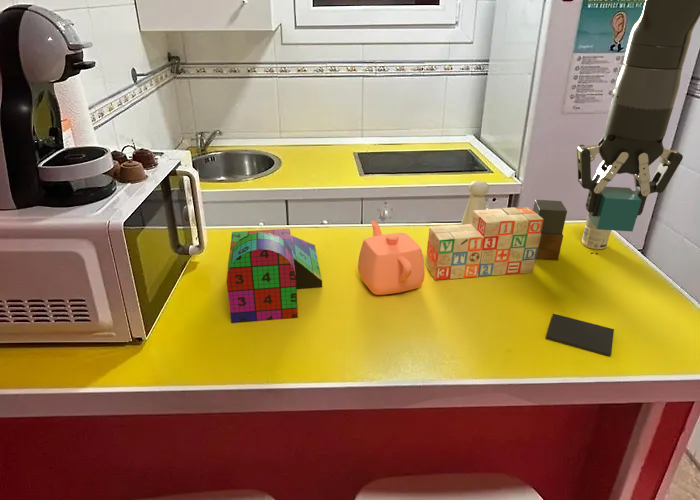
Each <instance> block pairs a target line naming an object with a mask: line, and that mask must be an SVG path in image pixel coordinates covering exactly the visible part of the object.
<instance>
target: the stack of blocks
mask: <svg viewBox="0 0 700 500" xmlns="http://www.w3.org/2000/svg"><path fill="white" fill-rule="evenodd" d="M542 225H543V218H542V217H540V216H539V215H538V214H537V213H535V212H534V211H533V209H532V208H531V207H528V206H526V207H501V208H489V209H485V210H474V211H473V215H472V222H471V224H466V225H461V224H450V225H449V224H448V225H437V226H429V229H428V236H427V237H428V238H427V245H426V260H425V267H426V268H427V270H428V272H429V273H430V274H431V276H432V278H433V279H434V280H435V281H439V280H454V279H455V280H456V279H463V278H464V279H467V278H468V279H469V278H479V277H489V276H502V275H519V274H531V273H532V274H533V272H534V271H535V265H536V260H537V259H536V254H537V250H538V246H539V242H540V237H541V229H542Z"/></svg>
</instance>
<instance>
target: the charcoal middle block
mask: <svg viewBox="0 0 700 500" xmlns="http://www.w3.org/2000/svg"><path fill="white" fill-rule="evenodd" d="M532 210H533V211H534V212H535V213H537V214H538V215H539V216H540V217H542V218H543V225H542V229H541V234H558V235H562V234H563V233H564V227H565V223H566V218H567V214H568V210H567V208H566V206H565V205H564V203H563V202H562V200H552V199H551V200H547V199H534V203H533V209H532Z"/></svg>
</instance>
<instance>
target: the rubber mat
mask: <svg viewBox="0 0 700 500" xmlns="http://www.w3.org/2000/svg"><path fill="white" fill-rule="evenodd" d="M614 333H615V329H614V328H611V327H607V326H603V325H599V324H596V323H592V322H588V321H584V320H580V319H577V318H574V317H573V318H572V317H568V316H564V315H561V314H557V313H552V316H551V318H550V323H549V326H548V329H547V333H546V336H545V340H548V341H552V342H556V343H559V344H562V345H565V346H570V347H574V348H576V349H580V350H584V351H588V352H590V353H595V354H597V355H602V356H605V357H609V358H611V356H612V350H613V341H614Z"/></svg>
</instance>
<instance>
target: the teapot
mask: <svg viewBox="0 0 700 500" xmlns="http://www.w3.org/2000/svg"><path fill="white" fill-rule="evenodd" d="M370 223H371V227H372V236H368V237H366V238H364V239H363V241H362V244H361V247H360V250H359V255H358V262H357V270H358V274H359V276H360V278H361V280H362V282H363V283H364V285H365V286H366V287H367V289H368V290H369V291H370V292H371V293H372V294H373V295H378V296H379V295H380V296H381V295H390V294H399V293H404V292H407V291H411V290H415V289H417V288H420V287H421V286H422V285H423V283H424V280H425V275H426V274H425V270H426V269H425V262H424V255H423V251H422V247H421V246H420V244H419V243H417V242H416V241H415V240H414V239H413V238H412V237H411V236H410V235H409V234H408V233H406V232H392V233H384V234H383V233H382V230H381V227H380V225H379V222H377V221H376V220H374V219H373V220H371V221H370Z"/></svg>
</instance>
